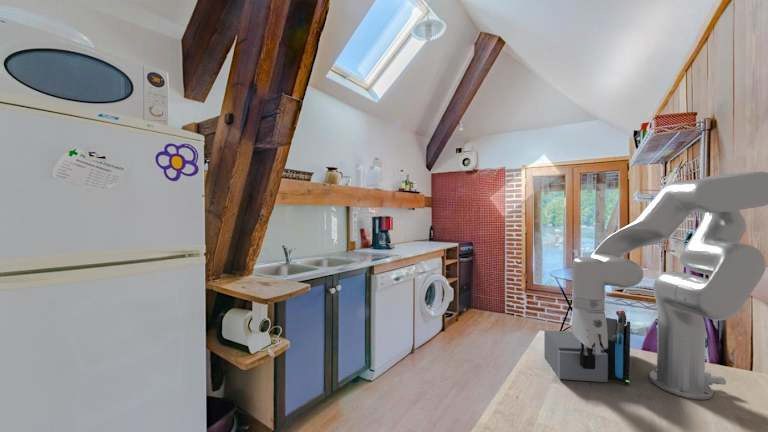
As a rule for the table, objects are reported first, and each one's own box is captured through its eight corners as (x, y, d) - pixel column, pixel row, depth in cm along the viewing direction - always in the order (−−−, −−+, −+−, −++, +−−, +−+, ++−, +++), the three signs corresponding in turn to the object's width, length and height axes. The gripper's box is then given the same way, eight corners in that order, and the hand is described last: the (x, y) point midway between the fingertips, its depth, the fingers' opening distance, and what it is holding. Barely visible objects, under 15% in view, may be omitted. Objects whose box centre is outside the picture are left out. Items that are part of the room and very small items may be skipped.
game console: (628, 393, 83) (629, 340, 82) (600, 385, 87) (600, 334, 86) (630, 352, 104) (630, 310, 104) (606, 347, 108) (607, 306, 108)
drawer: (607, 382, 87) (607, 354, 87) (559, 379, 89) (559, 352, 89) (585, 359, 100) (585, 334, 99) (544, 356, 102) (544, 333, 101)
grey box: (603, 381, 88) (604, 349, 88) (558, 378, 90) (558, 347, 90) (583, 359, 100) (584, 332, 100) (544, 357, 102) (544, 330, 102)
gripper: (619, 312, 77) (619, 384, 78) (588, 294, 92) (588, 354, 93) (587, 312, 78) (587, 382, 79) (561, 294, 93) (561, 353, 94)
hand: (587, 367), depth 86 cm, fingers closed
